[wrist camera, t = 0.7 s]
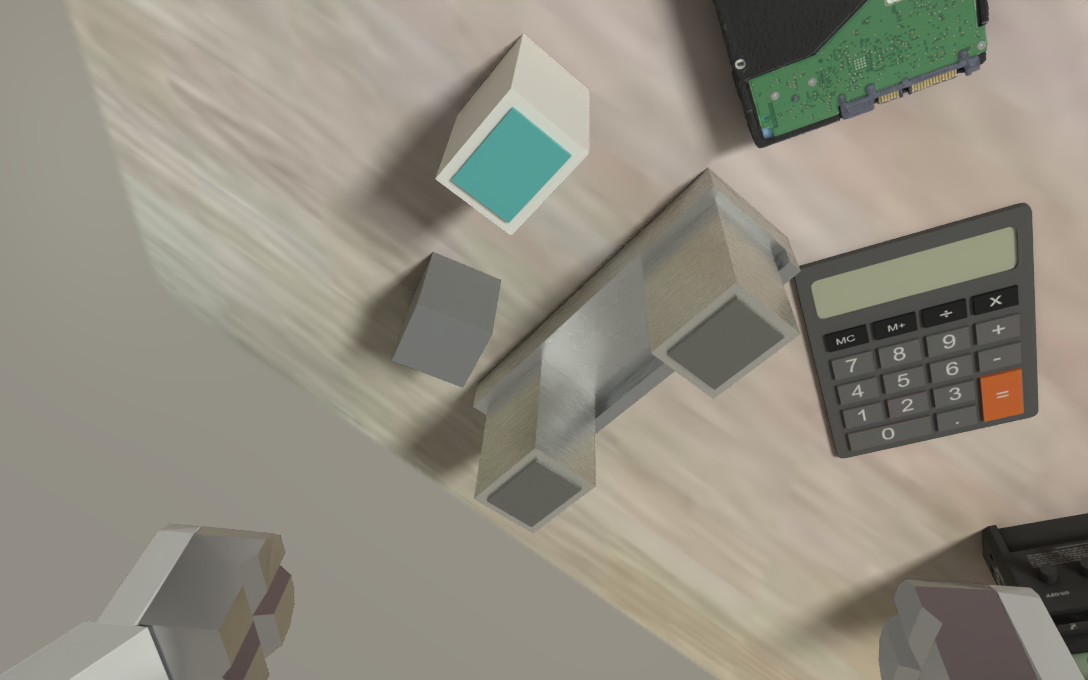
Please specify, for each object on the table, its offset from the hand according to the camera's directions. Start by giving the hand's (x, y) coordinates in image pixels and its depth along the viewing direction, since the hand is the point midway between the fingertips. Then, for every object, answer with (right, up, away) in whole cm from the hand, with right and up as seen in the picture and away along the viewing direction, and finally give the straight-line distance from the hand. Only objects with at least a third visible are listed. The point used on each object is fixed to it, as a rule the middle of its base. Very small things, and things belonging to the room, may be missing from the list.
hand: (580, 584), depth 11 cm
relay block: (-5, +6, +34) cm, 35 cm away
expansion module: (-1, +15, +27) cm, 31 cm away
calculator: (+21, +3, +35) cm, 41 cm away
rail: (+4, +5, +34) cm, 35 cm away
